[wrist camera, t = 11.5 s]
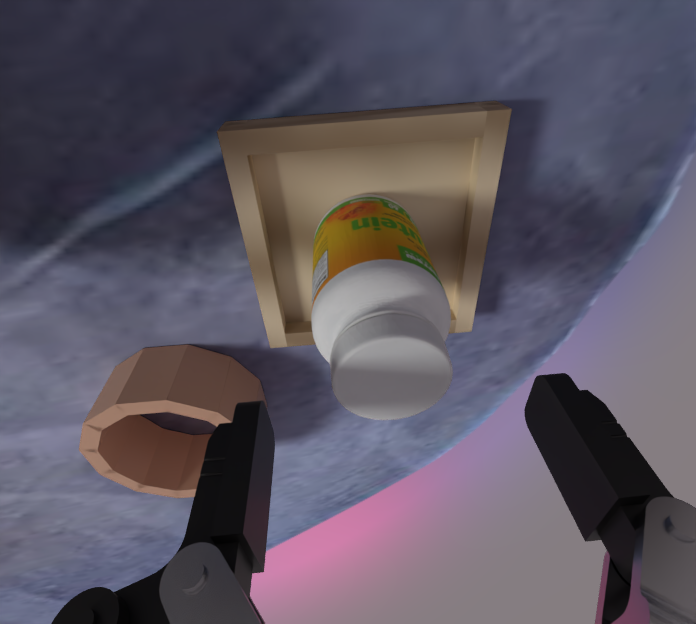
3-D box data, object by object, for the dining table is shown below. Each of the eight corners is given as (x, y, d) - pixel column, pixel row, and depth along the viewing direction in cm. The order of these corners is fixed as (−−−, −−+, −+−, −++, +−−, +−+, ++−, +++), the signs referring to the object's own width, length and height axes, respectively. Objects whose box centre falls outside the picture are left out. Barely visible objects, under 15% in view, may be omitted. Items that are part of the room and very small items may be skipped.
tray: (225, 121, 17) (216, 131, 16) (496, 100, 17) (511, 109, 16) (273, 328, 25) (270, 348, 23) (462, 312, 25) (471, 331, 23)
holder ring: (84, 352, 25) (44, 410, 21) (248, 339, 25) (236, 394, 21) (145, 446, 31) (124, 502, 28) (276, 435, 32) (270, 490, 28)
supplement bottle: (433, 206, 19) (508, 337, 12) (395, 293, 22) (434, 440, 15) (327, 178, 18) (334, 302, 11) (303, 273, 21) (294, 423, 14)
